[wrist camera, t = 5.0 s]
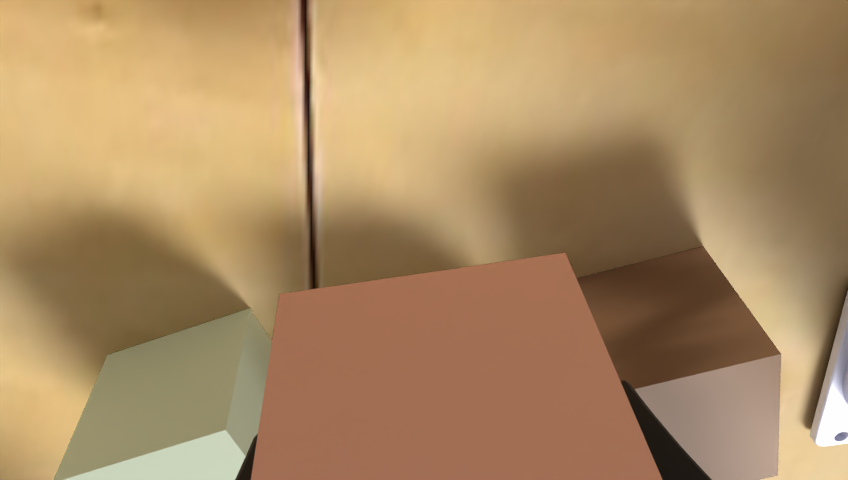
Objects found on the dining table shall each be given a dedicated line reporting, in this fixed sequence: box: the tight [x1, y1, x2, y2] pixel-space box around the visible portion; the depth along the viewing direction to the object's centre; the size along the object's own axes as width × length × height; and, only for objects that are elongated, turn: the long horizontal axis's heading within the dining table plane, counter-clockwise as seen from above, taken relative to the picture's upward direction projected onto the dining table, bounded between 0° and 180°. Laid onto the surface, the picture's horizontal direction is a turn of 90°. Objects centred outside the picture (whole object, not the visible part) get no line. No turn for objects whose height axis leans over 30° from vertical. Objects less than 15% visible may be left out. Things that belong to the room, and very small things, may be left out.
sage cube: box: [54, 308, 272, 480], centre depth 22 cm, size 5×5×5 cm
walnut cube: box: [577, 247, 781, 480], centre depth 22 cm, size 5×5×5 cm
